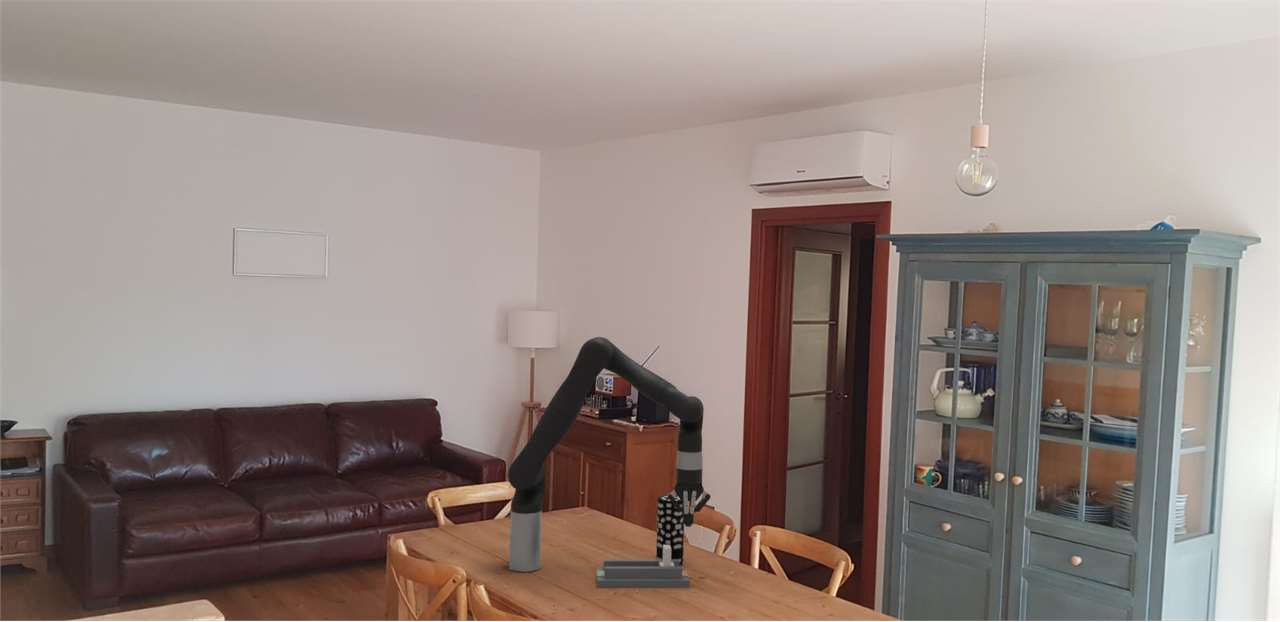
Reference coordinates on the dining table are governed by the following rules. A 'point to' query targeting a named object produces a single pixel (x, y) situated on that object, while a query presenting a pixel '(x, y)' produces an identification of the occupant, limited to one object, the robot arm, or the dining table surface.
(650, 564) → the breaker panel
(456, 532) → the dining table surface
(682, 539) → the spotted tube
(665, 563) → the breaker handle
